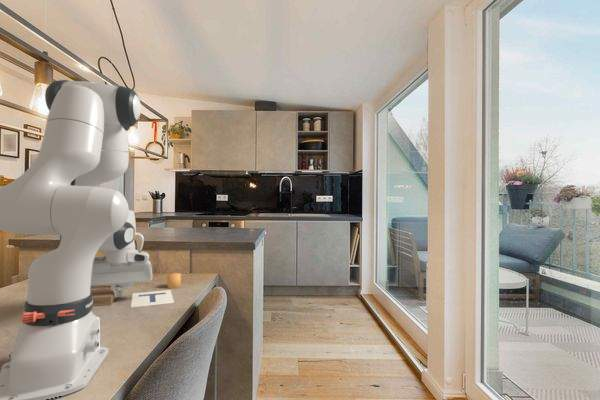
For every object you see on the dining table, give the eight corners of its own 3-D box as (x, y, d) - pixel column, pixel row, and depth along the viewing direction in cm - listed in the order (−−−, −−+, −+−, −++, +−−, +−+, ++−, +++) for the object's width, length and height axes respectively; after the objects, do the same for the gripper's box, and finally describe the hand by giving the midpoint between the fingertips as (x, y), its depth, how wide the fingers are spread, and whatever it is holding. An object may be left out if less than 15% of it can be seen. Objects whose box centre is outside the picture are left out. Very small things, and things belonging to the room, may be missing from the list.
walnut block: (110, 309, 102) (111, 296, 102) (82, 311, 100) (82, 298, 100) (117, 300, 111) (117, 288, 111) (90, 301, 108) (91, 290, 108)
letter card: (174, 305, 107) (174, 302, 107) (130, 310, 101) (130, 307, 101) (170, 292, 121) (170, 289, 121) (132, 296, 115) (132, 293, 115)
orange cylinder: (181, 290, 124) (181, 275, 124) (167, 291, 122) (168, 276, 122) (179, 287, 129) (180, 272, 129) (166, 288, 126) (167, 273, 126)
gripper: (81, 259, 99) (80, 303, 99) (153, 256, 108) (152, 296, 108) (85, 255, 104) (84, 297, 104) (153, 252, 113) (151, 291, 113)
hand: (119, 296), depth 106 cm, fingers closed
